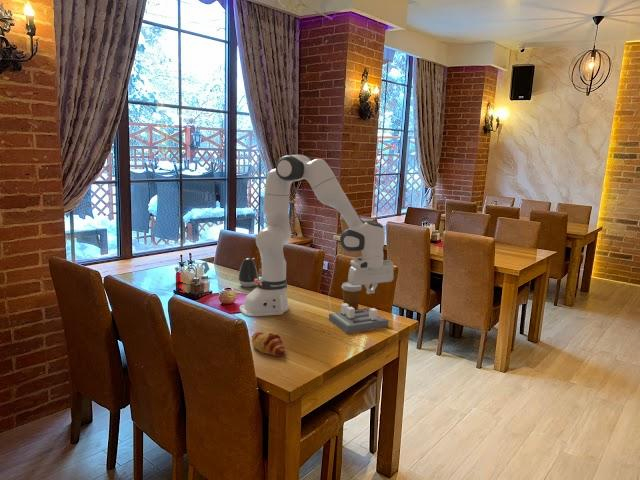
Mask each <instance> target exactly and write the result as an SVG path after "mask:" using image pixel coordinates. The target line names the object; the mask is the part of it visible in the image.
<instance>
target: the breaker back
mask: <svg viewBox="0 0 640 480" xmlns="http://www.w3.org/2000/svg"><path fill="white" fill-rule="evenodd" d="M347 307H349V305H348V304H347V303H344V302H342V303H340V312H341V313H342V314H344V315H345V314H346V311H347Z"/></svg>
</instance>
